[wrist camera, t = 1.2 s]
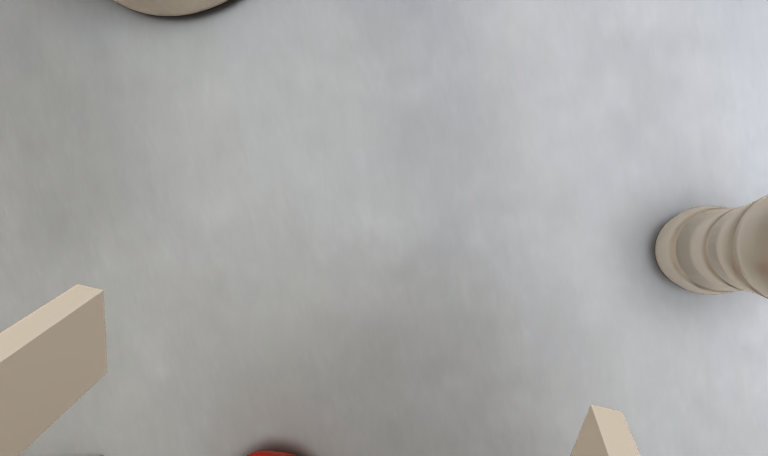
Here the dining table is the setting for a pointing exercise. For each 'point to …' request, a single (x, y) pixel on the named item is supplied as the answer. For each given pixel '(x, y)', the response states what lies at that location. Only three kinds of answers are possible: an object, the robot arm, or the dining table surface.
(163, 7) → the planter
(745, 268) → the plastic bottle
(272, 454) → the pomegranate
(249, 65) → the dining table surface
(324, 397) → the dining table surface
